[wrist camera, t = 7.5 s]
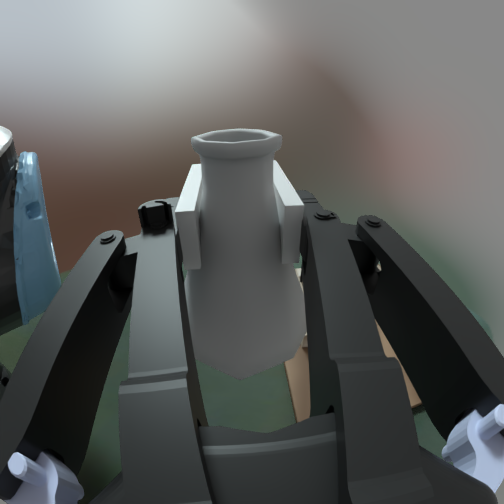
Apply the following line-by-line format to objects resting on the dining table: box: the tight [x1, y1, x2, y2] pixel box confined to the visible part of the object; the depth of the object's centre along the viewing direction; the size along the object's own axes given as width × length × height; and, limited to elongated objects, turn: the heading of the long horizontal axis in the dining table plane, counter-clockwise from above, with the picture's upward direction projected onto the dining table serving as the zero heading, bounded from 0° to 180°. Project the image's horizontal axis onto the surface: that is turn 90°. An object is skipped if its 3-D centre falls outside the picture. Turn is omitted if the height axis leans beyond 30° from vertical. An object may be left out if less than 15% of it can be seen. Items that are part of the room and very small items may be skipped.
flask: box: [184, 129, 307, 380], centre depth 12 cm, size 7×7×10 cm
